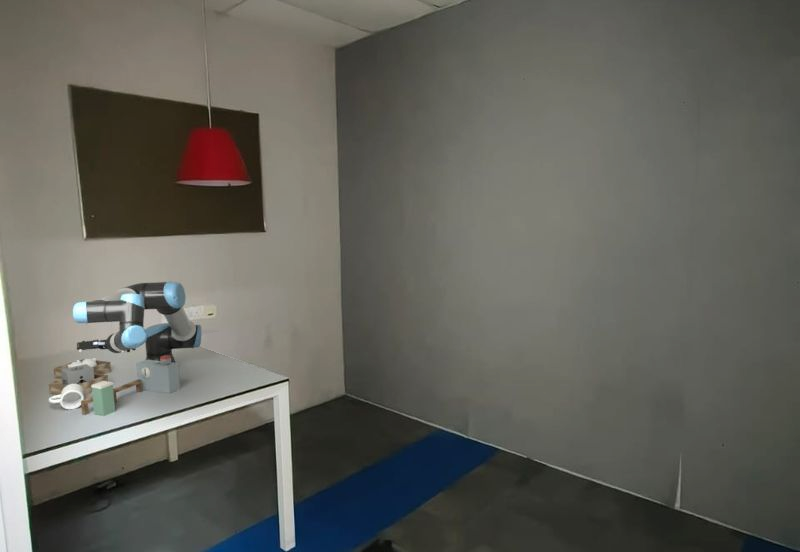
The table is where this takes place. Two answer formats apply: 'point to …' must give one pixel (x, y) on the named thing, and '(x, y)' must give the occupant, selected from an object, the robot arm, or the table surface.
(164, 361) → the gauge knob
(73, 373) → the icon cube
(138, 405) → the table surface
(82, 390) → the mug
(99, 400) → the green rectangular block
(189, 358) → the table surface
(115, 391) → the handrail
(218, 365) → the table surface
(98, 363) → the corral
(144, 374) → the end cabinet
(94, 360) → the cat figurine
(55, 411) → the table surface
